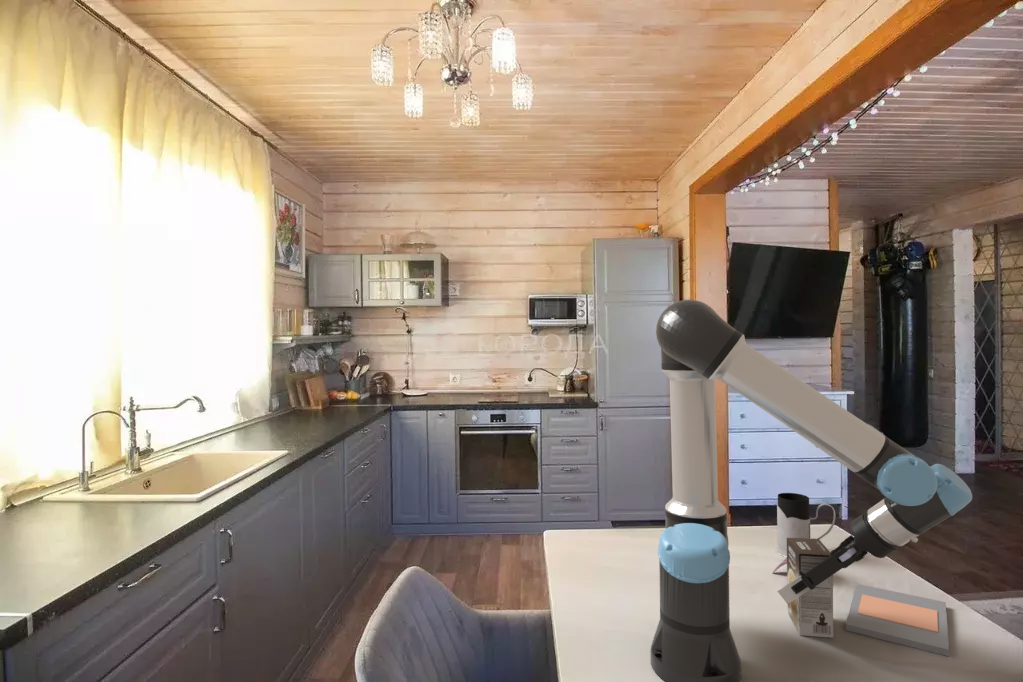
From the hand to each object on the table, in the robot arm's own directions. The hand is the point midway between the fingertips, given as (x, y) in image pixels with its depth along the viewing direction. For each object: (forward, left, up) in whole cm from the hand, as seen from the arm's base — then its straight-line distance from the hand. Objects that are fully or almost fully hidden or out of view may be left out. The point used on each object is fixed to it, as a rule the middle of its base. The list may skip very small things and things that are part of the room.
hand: (794, 587), depth 115 cm
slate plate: (+13, -17, -7) cm, 22 cm away
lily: (+24, +4, -7) cm, 26 cm away
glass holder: (+40, +4, -7) cm, 40 cm away
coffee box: (0, -3, -7) cm, 7 cm away
